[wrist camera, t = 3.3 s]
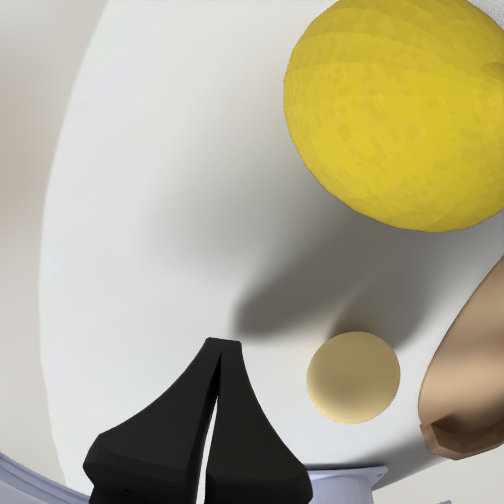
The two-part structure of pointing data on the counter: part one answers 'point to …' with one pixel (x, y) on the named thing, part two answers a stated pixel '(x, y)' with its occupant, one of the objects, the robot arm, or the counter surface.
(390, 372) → the pale yellow ball
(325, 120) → the lemon
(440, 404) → the groove tray
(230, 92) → the counter surface
